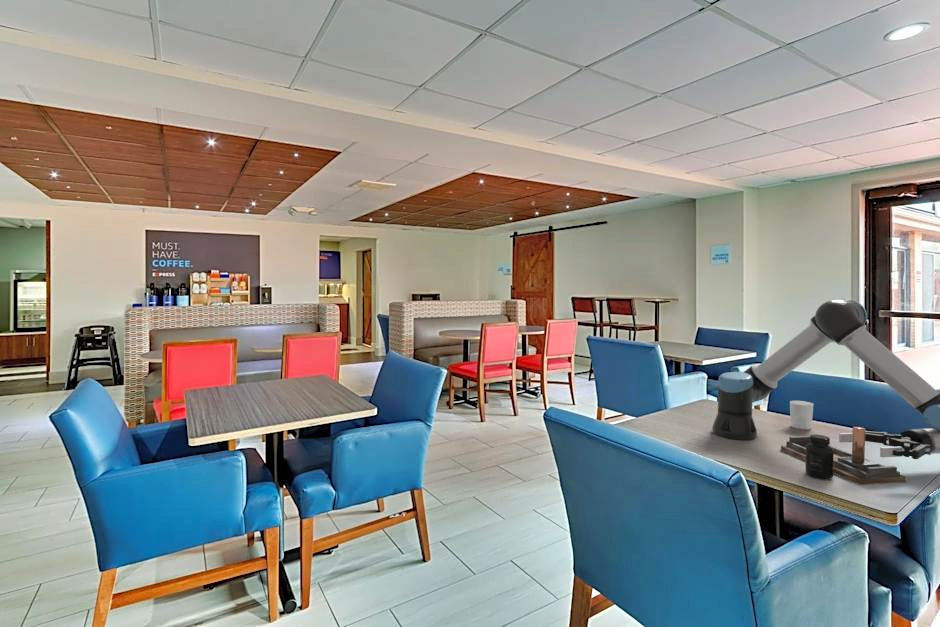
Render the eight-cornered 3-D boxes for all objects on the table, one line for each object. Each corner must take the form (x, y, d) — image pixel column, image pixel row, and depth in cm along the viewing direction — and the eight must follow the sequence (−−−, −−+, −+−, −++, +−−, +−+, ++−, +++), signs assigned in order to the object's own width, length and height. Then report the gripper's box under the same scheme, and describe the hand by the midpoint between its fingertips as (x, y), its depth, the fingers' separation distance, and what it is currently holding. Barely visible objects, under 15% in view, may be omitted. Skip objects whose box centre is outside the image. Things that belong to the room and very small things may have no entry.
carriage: (879, 470, 144) (880, 431, 144) (857, 471, 144) (859, 432, 143) (857, 462, 151) (859, 424, 151) (837, 463, 150) (838, 425, 150)
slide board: (905, 481, 140) (906, 466, 140) (859, 484, 139) (859, 469, 139) (820, 447, 170) (820, 435, 170) (781, 450, 169) (781, 437, 168)
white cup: (817, 430, 191) (818, 405, 191) (797, 430, 192) (798, 405, 191) (804, 424, 199) (804, 400, 199) (784, 424, 199) (785, 400, 199)
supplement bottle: (839, 479, 142) (840, 439, 142) (817, 480, 142) (818, 440, 141) (820, 470, 149) (821, 432, 149) (799, 471, 149) (800, 433, 148)
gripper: (966, 468, 137) (900, 472, 134) (882, 440, 162) (824, 443, 159) (968, 442, 136) (901, 446, 134) (882, 418, 161) (825, 421, 159)
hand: (859, 444), depth 147 cm, fingers open, 13 cm apart
